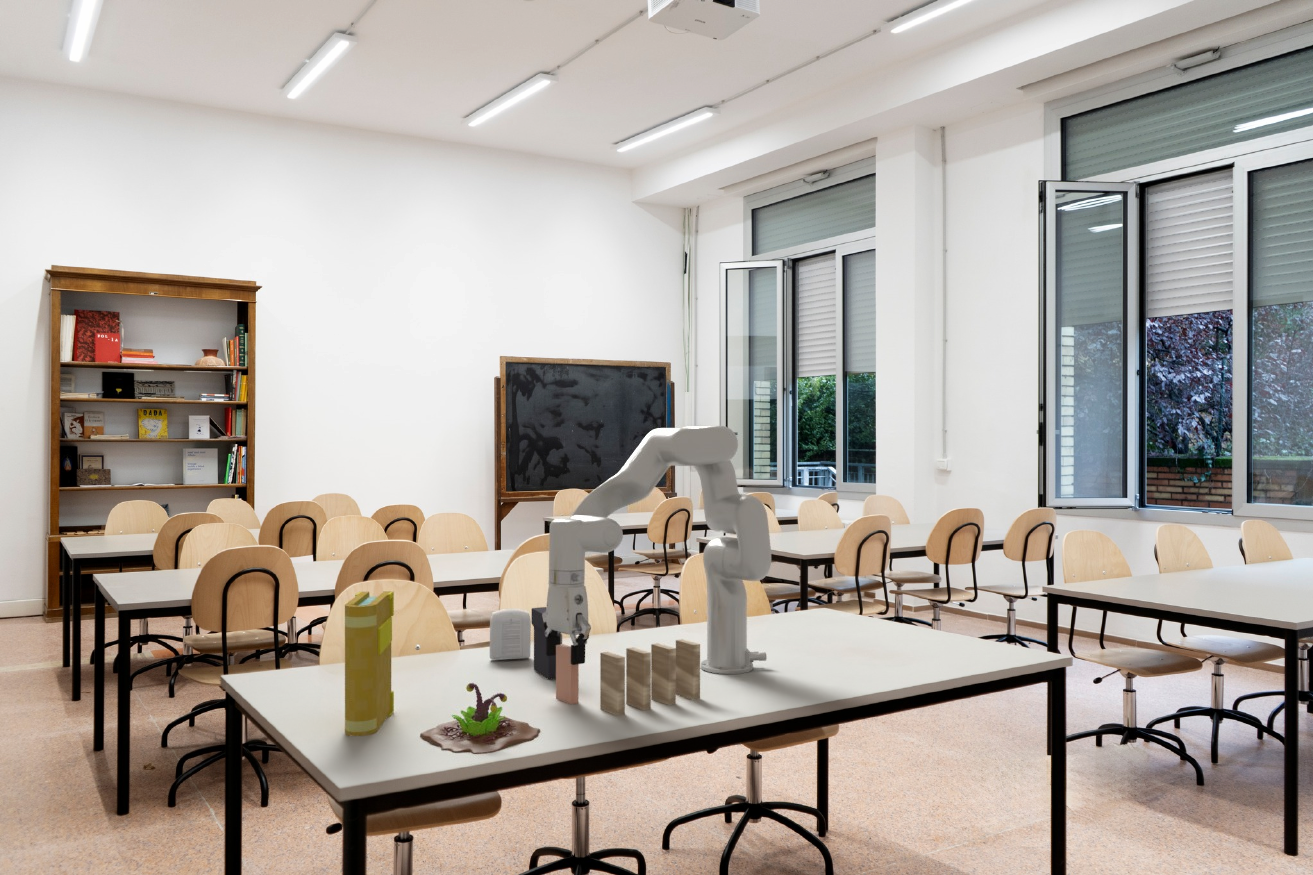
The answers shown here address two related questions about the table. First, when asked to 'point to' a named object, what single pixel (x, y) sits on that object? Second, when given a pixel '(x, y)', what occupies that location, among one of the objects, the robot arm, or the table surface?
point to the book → (368, 662)
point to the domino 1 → (566, 675)
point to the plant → (480, 729)
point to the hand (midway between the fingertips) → (565, 659)
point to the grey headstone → (510, 634)
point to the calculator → (542, 646)
